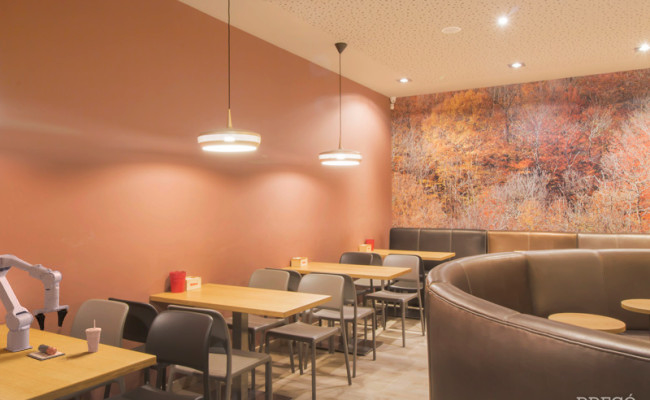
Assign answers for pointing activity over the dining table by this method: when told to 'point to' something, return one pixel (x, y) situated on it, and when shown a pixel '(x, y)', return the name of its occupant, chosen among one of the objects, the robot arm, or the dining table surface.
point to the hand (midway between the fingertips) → (51, 328)
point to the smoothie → (93, 338)
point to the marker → (47, 349)
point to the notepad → (44, 355)
